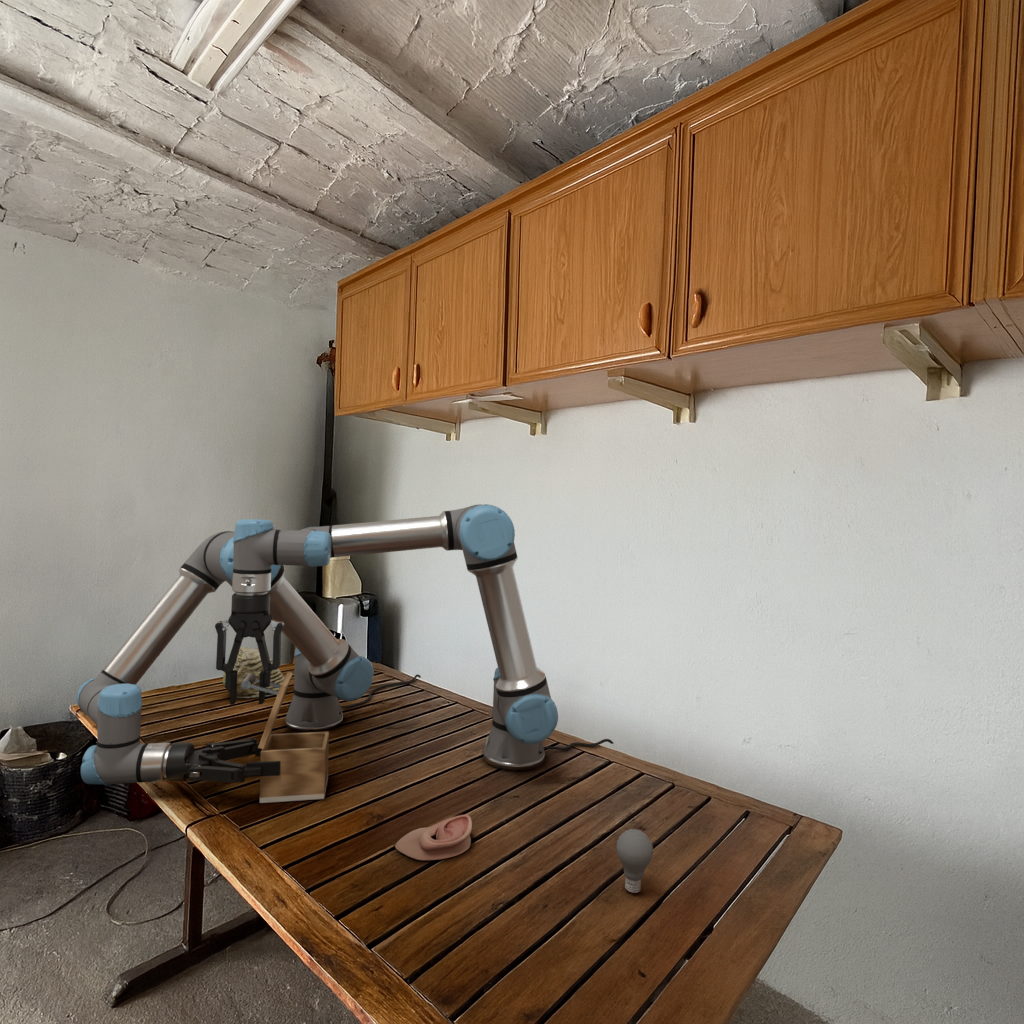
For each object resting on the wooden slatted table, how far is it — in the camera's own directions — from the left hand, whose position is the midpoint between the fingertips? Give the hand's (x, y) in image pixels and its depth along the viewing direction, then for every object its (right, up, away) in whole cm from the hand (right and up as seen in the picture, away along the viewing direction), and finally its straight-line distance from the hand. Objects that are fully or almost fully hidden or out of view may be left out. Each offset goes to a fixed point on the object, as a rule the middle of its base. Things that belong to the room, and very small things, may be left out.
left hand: (283, 758), depth 135 cm
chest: (+2, -7, +1) cm, 8 cm away
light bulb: (+69, -11, -30) cm, 76 cm away
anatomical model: (+34, -9, -18) cm, 40 cm away
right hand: (-7, +12, -2) cm, 14 cm away
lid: (-1, +11, -1) cm, 10 cm away
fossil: (-32, -5, +63) cm, 70 cm away
